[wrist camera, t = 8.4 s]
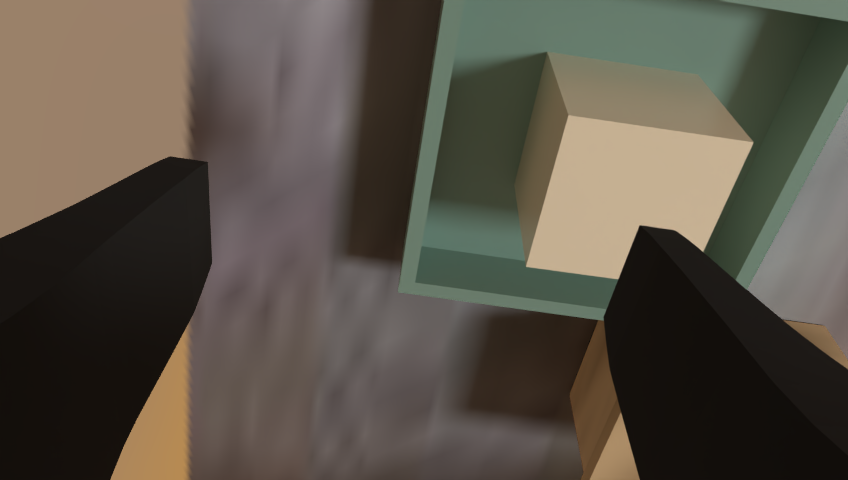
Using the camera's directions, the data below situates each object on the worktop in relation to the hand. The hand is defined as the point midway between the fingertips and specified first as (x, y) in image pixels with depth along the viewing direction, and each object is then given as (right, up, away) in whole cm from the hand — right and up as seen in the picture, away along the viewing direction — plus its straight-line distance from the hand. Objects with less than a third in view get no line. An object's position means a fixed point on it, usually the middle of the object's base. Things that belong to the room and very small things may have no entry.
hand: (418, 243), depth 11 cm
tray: (+6, +3, +10) cm, 12 cm away
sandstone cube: (+6, +3, +9) cm, 12 cm away
